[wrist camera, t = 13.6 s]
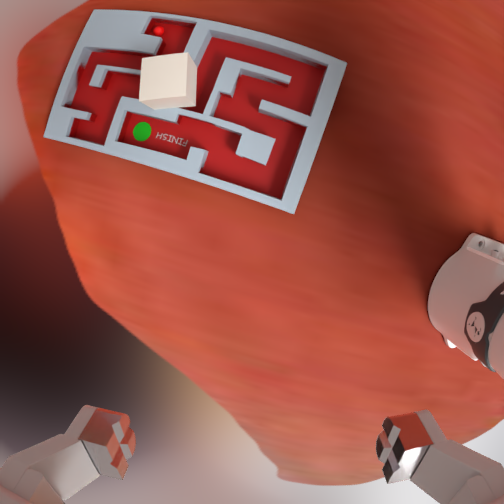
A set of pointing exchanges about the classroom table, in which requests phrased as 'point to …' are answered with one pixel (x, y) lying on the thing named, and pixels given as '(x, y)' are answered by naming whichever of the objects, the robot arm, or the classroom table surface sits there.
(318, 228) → the classroom table surface
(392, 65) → the classroom table surface
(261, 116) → the maze game
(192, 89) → the cream cube
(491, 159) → the classroom table surface
